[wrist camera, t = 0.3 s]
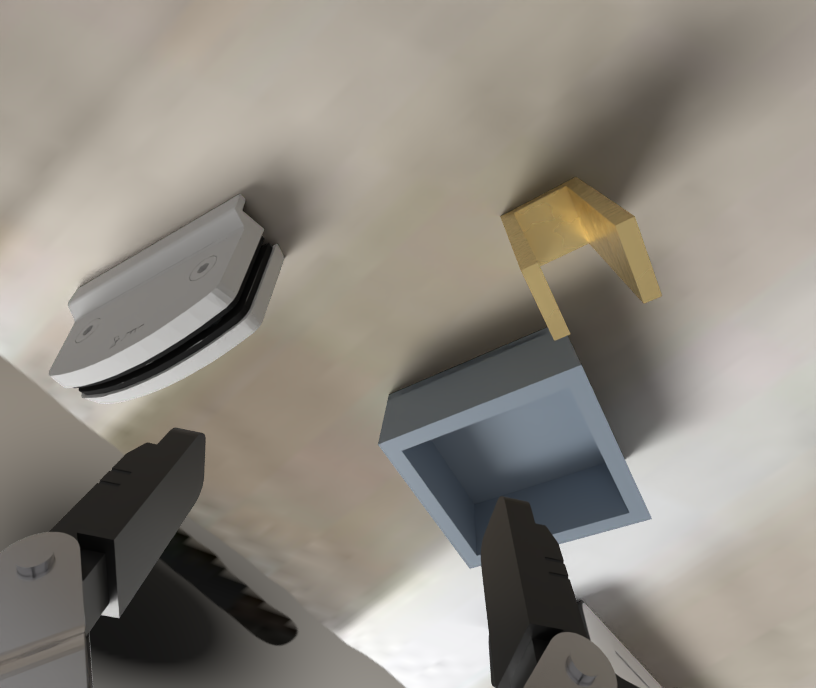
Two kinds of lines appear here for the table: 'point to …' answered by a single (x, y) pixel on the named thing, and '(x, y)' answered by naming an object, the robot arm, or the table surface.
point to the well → (511, 445)
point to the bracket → (577, 242)
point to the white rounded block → (169, 308)
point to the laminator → (609, 651)
